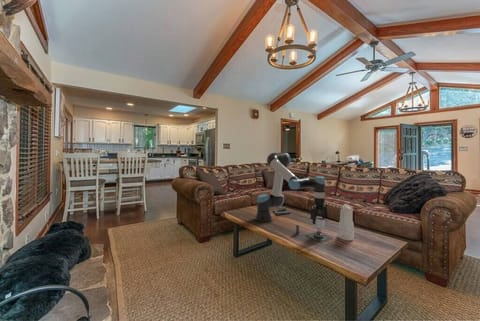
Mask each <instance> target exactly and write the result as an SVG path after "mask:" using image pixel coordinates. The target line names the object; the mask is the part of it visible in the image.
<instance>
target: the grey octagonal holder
mask: <svg viewBox="0 0 480 321" xmlns="http://www.w3.org/2000/svg"><path fill="white" fill-rule="evenodd" d="M316 220H317V228H321V229H325V228H326V220H325V218H323V217H322V216H317V218H316Z"/></svg>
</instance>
